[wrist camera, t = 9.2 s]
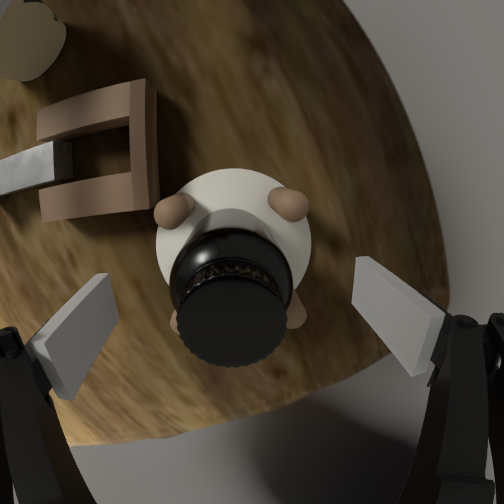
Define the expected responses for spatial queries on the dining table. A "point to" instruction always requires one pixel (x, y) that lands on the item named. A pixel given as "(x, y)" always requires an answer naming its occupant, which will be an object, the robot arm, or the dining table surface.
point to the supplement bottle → (231, 289)
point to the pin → (36, 167)
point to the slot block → (95, 120)
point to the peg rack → (245, 198)
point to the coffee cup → (28, 39)
